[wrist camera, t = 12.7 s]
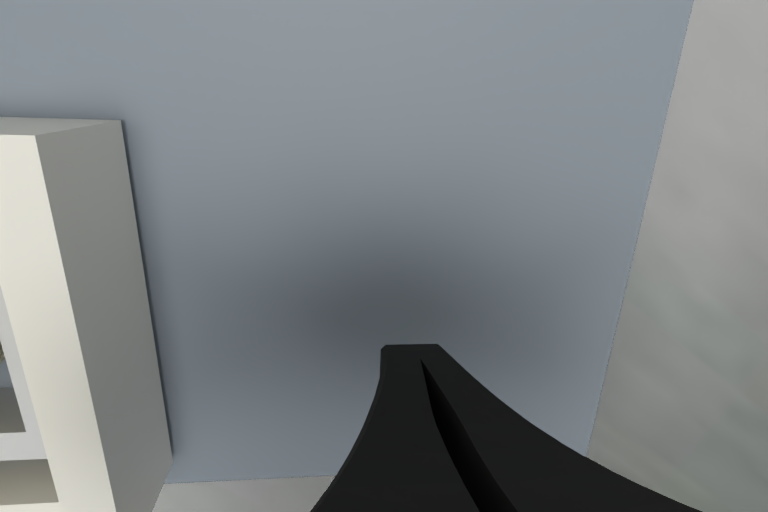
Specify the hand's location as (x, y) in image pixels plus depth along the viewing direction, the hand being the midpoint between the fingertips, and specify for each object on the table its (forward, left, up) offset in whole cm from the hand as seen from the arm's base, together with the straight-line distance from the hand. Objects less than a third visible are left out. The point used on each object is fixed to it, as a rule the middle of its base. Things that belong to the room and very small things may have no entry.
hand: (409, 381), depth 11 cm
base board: (+2, +5, -5) cm, 7 cm away
